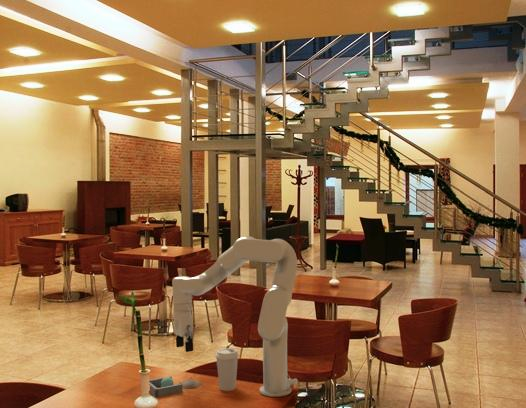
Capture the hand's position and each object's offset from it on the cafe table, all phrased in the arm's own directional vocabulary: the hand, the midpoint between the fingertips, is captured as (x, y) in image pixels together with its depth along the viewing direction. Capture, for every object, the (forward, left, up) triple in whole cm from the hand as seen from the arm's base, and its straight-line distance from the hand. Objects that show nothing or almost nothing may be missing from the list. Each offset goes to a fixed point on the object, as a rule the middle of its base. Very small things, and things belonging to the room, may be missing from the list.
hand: (184, 349), depth 221 cm
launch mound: (-2, -1, -27) cm, 27 cm away
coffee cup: (-13, +11, -15) cm, 23 cm away
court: (+9, -1, -15) cm, 18 cm away
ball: (+8, 0, -13) cm, 15 cm away
